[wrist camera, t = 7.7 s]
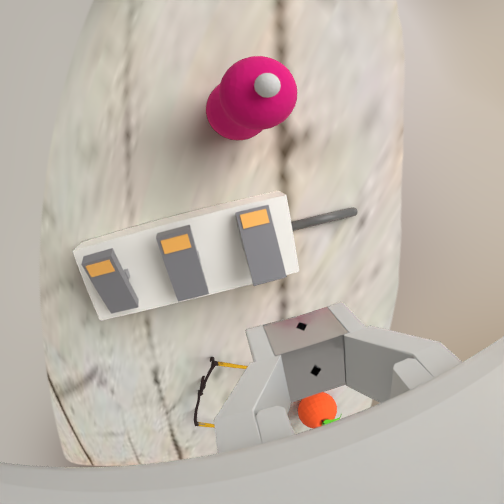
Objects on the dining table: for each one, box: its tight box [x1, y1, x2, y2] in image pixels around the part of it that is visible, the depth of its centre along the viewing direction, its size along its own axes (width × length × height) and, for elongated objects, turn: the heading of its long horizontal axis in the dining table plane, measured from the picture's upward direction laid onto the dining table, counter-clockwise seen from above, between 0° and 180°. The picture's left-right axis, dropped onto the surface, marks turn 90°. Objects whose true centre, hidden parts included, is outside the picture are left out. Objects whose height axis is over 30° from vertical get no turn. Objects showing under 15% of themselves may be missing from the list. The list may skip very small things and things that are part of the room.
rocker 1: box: [81, 248, 139, 314], centre depth 35 cm, size 8×4×2 cm, turn 13°
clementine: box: [298, 392, 341, 428], centre depth 52 cm, size 8×7×7 cm
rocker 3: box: [235, 205, 287, 286], centre depth 37 cm, size 8×4×2 cm, turn 11°
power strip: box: [72, 191, 357, 321], centre depth 40 cm, size 10×38×5 cm, turn 102°
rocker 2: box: [156, 225, 209, 302], centre depth 36 cm, size 8×4×2 cm, turn 12°
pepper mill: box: [206, 56, 297, 140], centre depth 28 cm, size 7×7×20 cm
